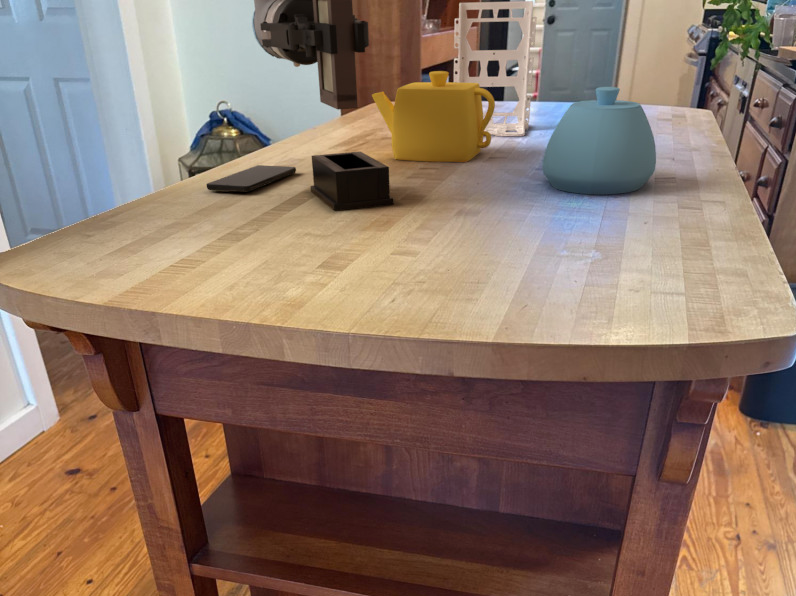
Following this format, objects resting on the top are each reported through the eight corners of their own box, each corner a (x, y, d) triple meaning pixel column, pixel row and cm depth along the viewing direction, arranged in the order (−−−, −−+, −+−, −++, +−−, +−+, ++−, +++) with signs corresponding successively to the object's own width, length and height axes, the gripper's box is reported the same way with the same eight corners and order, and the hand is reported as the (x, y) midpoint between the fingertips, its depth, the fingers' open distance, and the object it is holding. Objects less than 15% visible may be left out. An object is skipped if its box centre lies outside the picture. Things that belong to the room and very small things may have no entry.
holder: (310, 191, 103) (307, 156, 100) (365, 186, 105) (364, 151, 102) (334, 211, 94) (331, 172, 91) (393, 204, 96) (392, 166, 93)
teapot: (363, 159, 121) (359, 75, 114) (387, 146, 130) (384, 67, 123) (484, 164, 116) (487, 75, 109) (499, 150, 125) (503, 67, 118)
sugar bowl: (566, 169, 111) (576, 79, 104) (666, 179, 104) (683, 83, 98) (522, 189, 101) (529, 91, 94) (630, 201, 94) (646, 96, 88)
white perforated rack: (449, 136, 137) (451, 3, 125) (454, 125, 148) (457, 2, 136) (528, 136, 136) (538, 1, 124) (528, 125, 147) (536, 0, 135)
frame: (320, 102, 94) (311, -16, 87) (339, 100, 95) (332, -17, 87) (337, 109, 88) (329, -17, 81) (357, 108, 89) (351, -18, 81)
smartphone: (297, 166, 113) (247, 186, 101) (297, 173, 113) (248, 193, 102) (257, 164, 115) (204, 183, 103) (257, 171, 115) (205, 190, 104)
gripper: (355, 60, 105) (413, 74, 87) (245, 66, 101) (282, 82, 83) (352, -6, 101) (412, -5, 83) (237, -2, 97) (274, -1, 79)
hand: (347, 38), depth 83 cm, fingers closed on frame, 2 cm apart
